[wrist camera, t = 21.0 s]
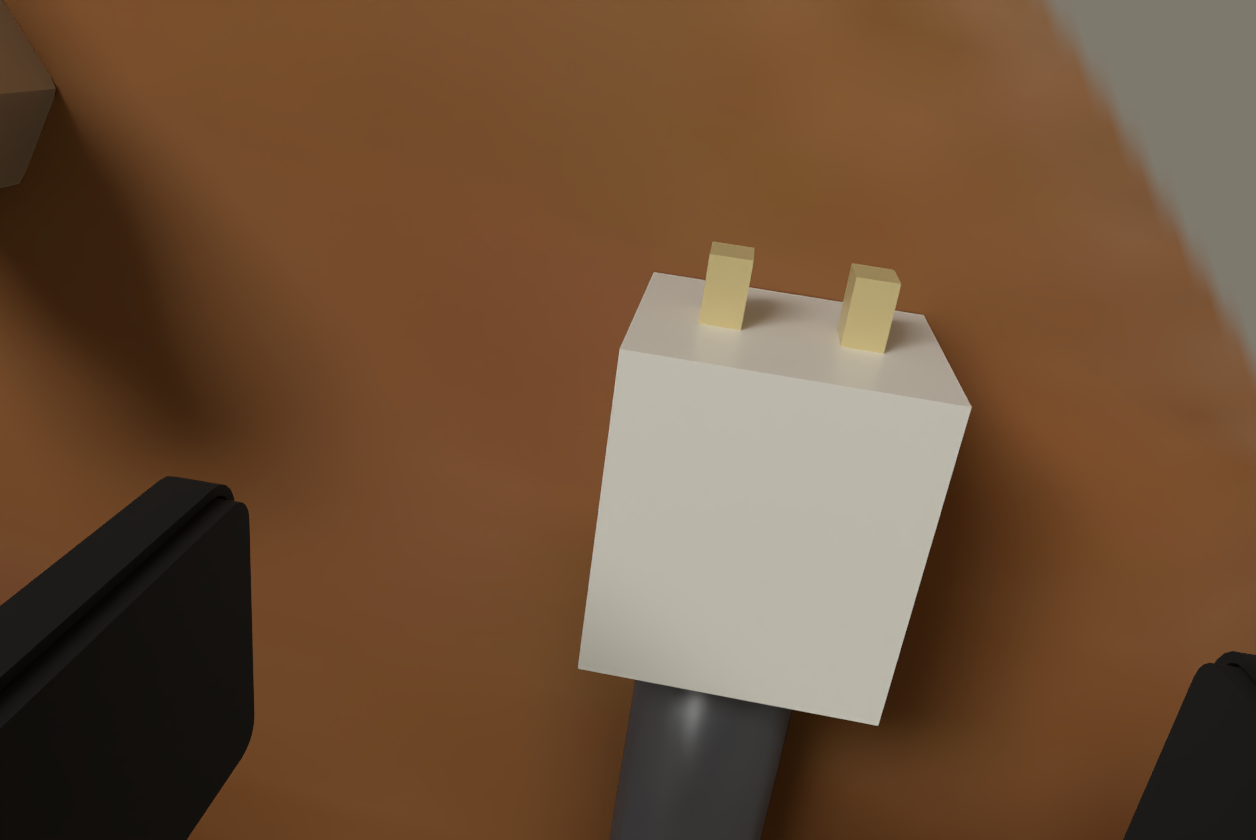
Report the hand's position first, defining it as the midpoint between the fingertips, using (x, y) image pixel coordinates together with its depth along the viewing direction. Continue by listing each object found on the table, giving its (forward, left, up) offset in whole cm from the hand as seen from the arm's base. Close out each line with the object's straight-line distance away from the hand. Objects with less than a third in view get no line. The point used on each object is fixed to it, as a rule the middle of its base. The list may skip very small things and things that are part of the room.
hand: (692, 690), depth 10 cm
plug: (+1, -8, -8) cm, 11 cm away
